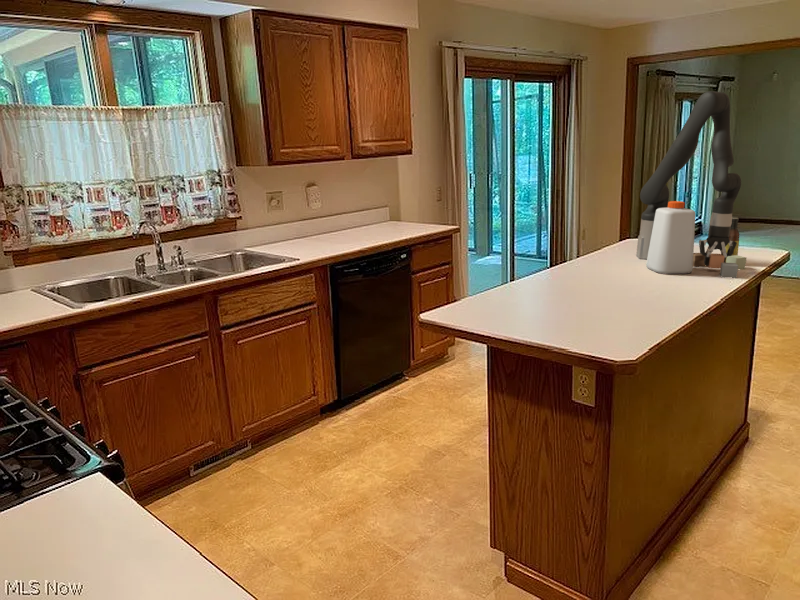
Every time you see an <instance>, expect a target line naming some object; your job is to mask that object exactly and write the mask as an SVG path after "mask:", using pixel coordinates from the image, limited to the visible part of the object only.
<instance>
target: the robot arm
mask: <svg viewBox="0 0 800 600" xmlns="http://www.w3.org/2000/svg"><path fill="white" fill-rule="evenodd" d="M730 102H731V99H730V97H729V95H728V94H727V93H725V92H722V91H713V90H708V91H705V92H704V93H702V94H701V95H700V96H699V97H698V98H697V100H696V102H695V104H694V106H693V108H692V109H691V112H690V113H689V116H688V118H687V120H686V122H685V123H684V125H683V127H682V128H681V129H680V131H679V133H678V135H677V136H676V138H675V140H674V141H673V142H672V143H671V145H670V147H669V149H668V150H667V152H666V153H665V156H663V158H662V160H661V161H660V163H659V165H658V166H657V168H656V170H655V171H654V172H653V173H652V175H651V176H650V177H649V179H648V180H647V181H646V182H645V184H644V185H643V186H642V188H641V190H640V194H639V198H640V201H641V202H642V204H644V205H647V207H646V209H645V210H644V211H643V212H642V213H641V218H640V227H639V228H640V229H639V235H638V236H637V243H636V244H637V245H636V254H635V255H636V257H637V258H638V259H642V260H647V257H648V251H649V246H650V240H651V235H652V229H653V224H654V219H655V213H656V210H657V209H658V208H667V207H668V202H669V199H670V189H669V187H668V185H667V184H668V183H669V181H670V179H671V178H673V177H675V175H676V174H677V173H679V171H680V170H682V169H683V168H684V167H685V166H686V165H687V164H688V163H689V161H690V160H691V158H692V156H693V155H694V153H695V152H696V150H697V148H698V145H699V139H700V133H701V131H702V129H703V127H704V126H705V124H706V122H707V121H708V120H709V119H710V117H711V119H712V122H713V137H712V140H711V147H710V150H711V156H712V157H711V158H712V162H713V169H712V175H711V184H712V187H713V189H714V190H715V192H716V191H717V192H720V193H721V194H720V196H719V197H716V198H715V199H714V201H713V205H712V212H711V216H710V219H709V228H708V234H707V238H706V239H703V240H702V239H699V240H698V245H699V253H700V254H702V255H704V256H705V259H704V264H705V267H707V266H709V260H710V257H709V256H710V254H711V253H712V254H713V252H714V250H719V251H720V254H722V255H723V256H725V257H724V263H725V262H726V257H728V256H732V254H733V251H734V249H735V247H736V244H737V242H735V241H730V240H729V235H730V229H731V224H732V217H733V210H734V204H735V201H736V200H737V197H738V195H739V193H740V190H741V188H742V187H741V186H742V178H741V176H740V175H739V174H737V173H735V172H731V173H729V168H730V167H731V166H733V165H734V161H735V160H734V153H733V148H732V142H731V119H730V118H731V103H730ZM728 243H729V249H728V251H727V253H726V248H725V246H726V245H727V244H728ZM706 244H707V245H708V246H707V248H705V246H706Z"/></svg>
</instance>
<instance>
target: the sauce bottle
mask: <svg viewBox="0 0 800 600" xmlns="http://www.w3.org/2000/svg"><path fill="white" fill-rule="evenodd" d="M738 223H739V217H734V216H732V224H731V229H730V235H729V240H730V241H735V242H737V244H736V247H735V249H734V251H733V254H732V256H733V255H738V256H739V247H740V232H739V230H738V226H739V225H738ZM725 248H726V253H727V251H728V249H729V243H728V244H727V245H726V246H725ZM726 259H727V257H726ZM725 263H726V262H725Z"/></svg>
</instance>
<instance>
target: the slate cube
mask: <svg viewBox="0 0 800 600" xmlns="http://www.w3.org/2000/svg"><path fill="white" fill-rule="evenodd" d="M719 269H720V270H719V276H722V277H721V278H725V277H732V278H731V279H737V277H738V271H739V270H738V265H737V264H736V263H724V262H721V268H719Z"/></svg>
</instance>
